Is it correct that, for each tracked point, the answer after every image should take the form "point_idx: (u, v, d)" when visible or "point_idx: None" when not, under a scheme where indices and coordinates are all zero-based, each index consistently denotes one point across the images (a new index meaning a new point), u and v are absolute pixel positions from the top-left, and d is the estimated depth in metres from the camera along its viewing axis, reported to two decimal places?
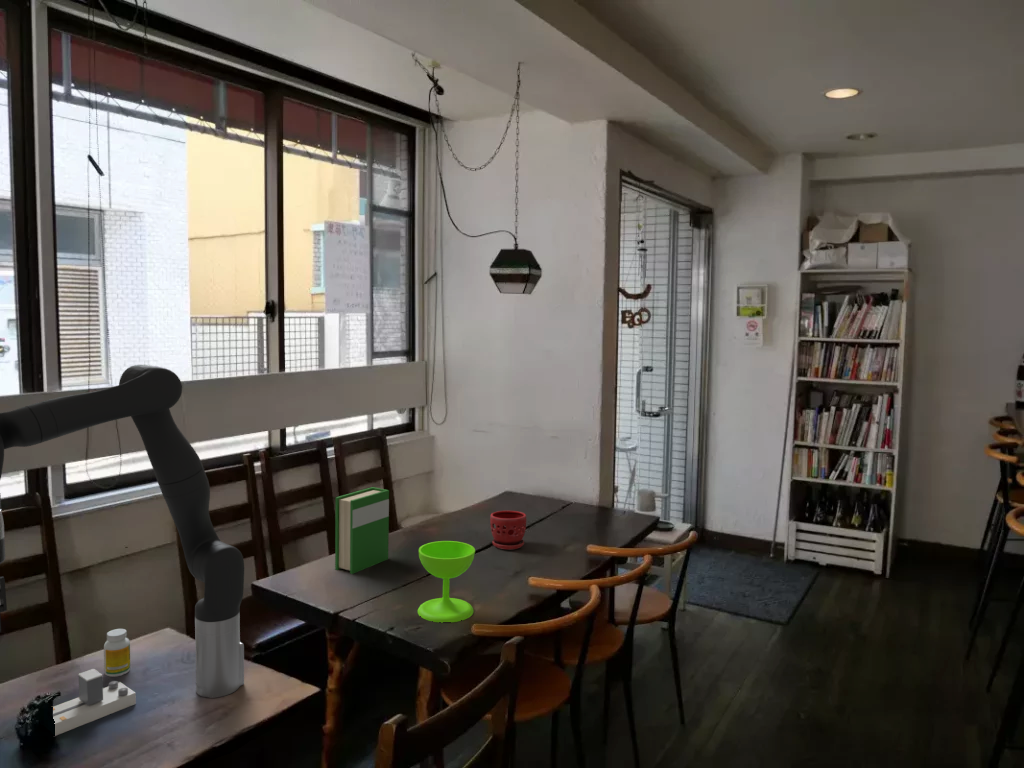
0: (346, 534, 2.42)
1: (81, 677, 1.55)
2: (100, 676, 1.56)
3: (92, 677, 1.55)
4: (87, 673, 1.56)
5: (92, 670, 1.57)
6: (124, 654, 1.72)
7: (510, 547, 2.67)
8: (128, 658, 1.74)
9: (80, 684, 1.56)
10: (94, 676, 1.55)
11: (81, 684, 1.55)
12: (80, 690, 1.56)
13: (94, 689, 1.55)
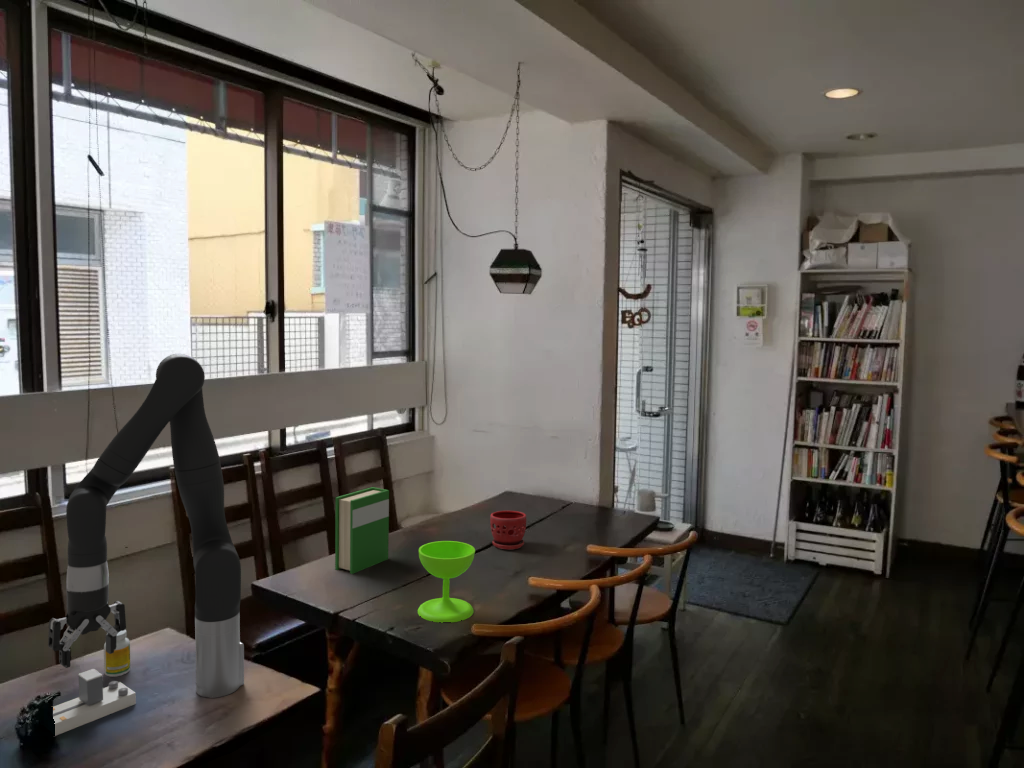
0: (346, 534, 2.42)
1: (81, 677, 1.55)
2: (100, 676, 1.56)
3: (92, 677, 1.55)
4: (87, 673, 1.56)
5: (92, 670, 1.57)
6: (124, 654, 1.72)
7: (510, 547, 2.67)
8: (128, 658, 1.74)
9: (80, 684, 1.56)
10: (94, 676, 1.55)
11: (81, 684, 1.55)
12: (80, 690, 1.56)
13: (94, 689, 1.55)
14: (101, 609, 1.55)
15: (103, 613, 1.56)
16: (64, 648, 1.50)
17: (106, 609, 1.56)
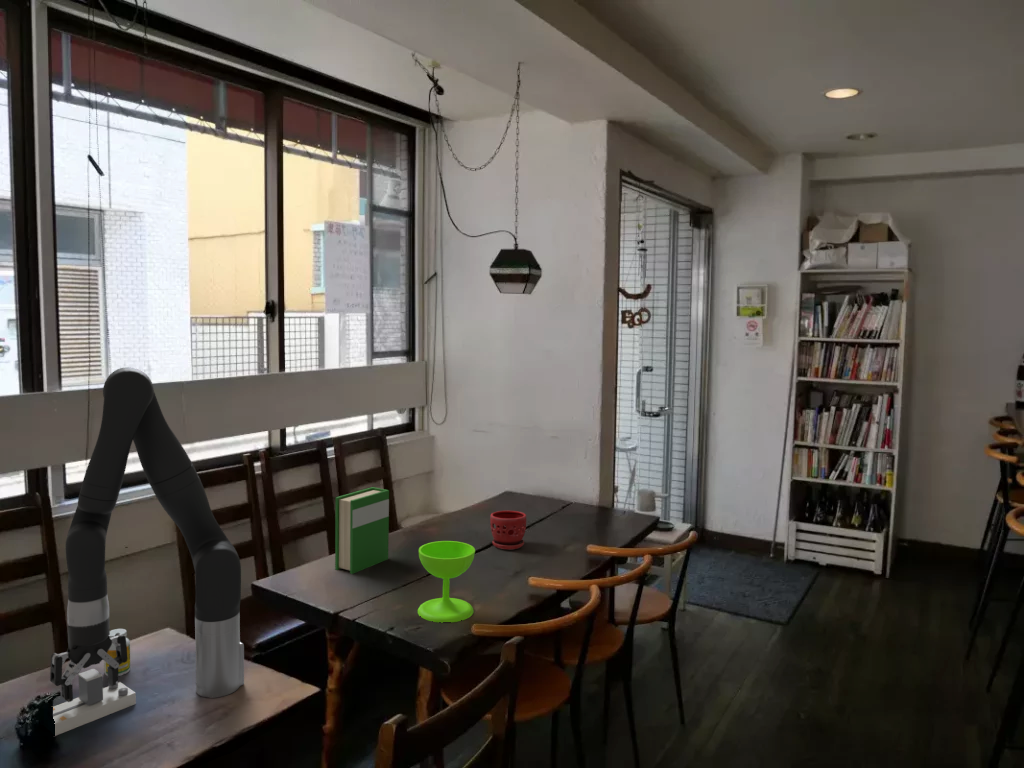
0: (346, 534, 2.42)
1: (81, 677, 1.55)
2: (100, 676, 1.56)
3: (92, 677, 1.55)
4: (87, 673, 1.56)
5: (92, 670, 1.57)
6: None
7: (510, 547, 2.67)
8: (128, 658, 1.74)
9: (80, 684, 1.56)
10: (94, 676, 1.55)
11: (81, 684, 1.55)
12: (80, 690, 1.56)
13: (94, 689, 1.55)
14: (102, 642, 1.56)
15: (104, 646, 1.57)
16: (66, 682, 1.51)
17: (107, 642, 1.57)
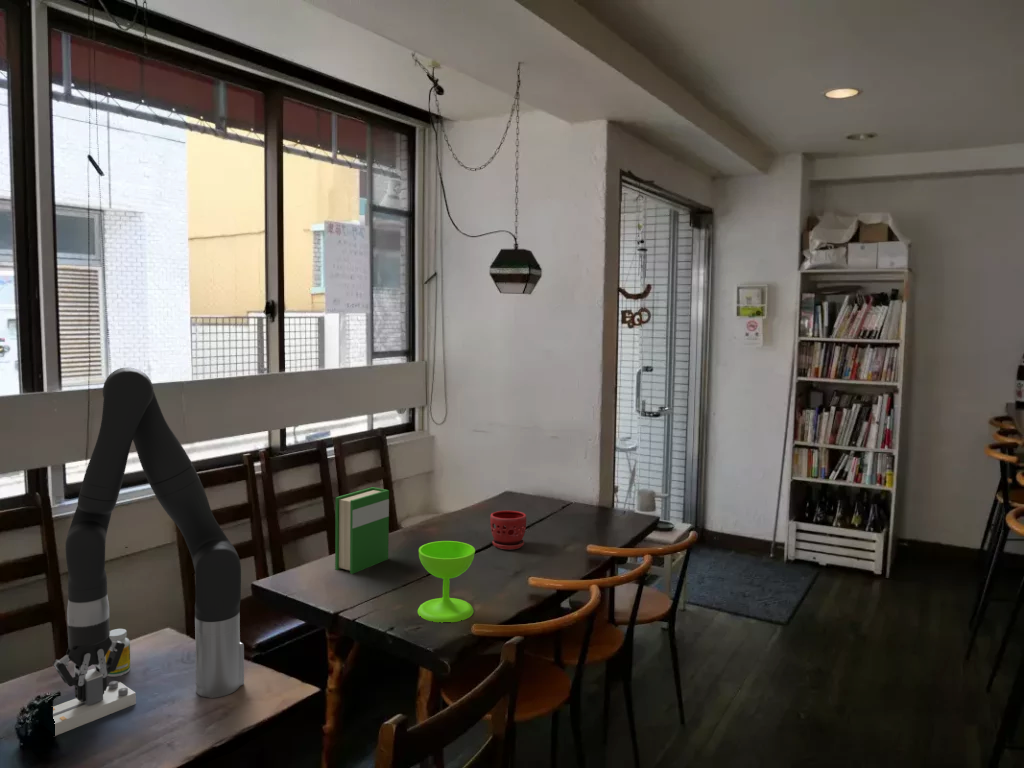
0: (346, 534, 2.42)
1: None
2: (100, 676, 1.56)
3: (92, 677, 1.55)
4: (87, 673, 1.56)
5: (92, 670, 1.57)
6: (124, 654, 1.72)
7: (510, 547, 2.67)
8: (128, 658, 1.74)
9: None
10: (94, 676, 1.55)
11: None
12: None
13: (94, 689, 1.55)
14: (104, 640, 1.57)
15: (104, 645, 1.57)
16: (79, 683, 1.53)
17: (108, 642, 1.57)
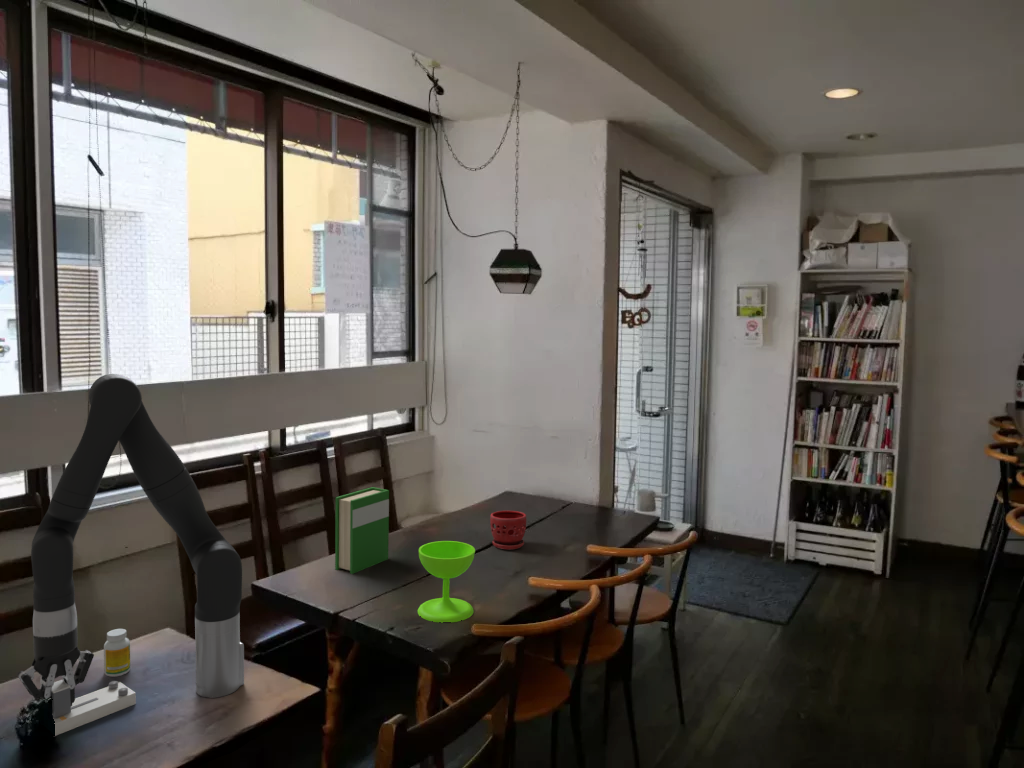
0: (346, 534, 2.42)
1: None
2: (68, 688, 1.51)
3: (59, 689, 1.50)
4: (54, 684, 1.51)
5: (60, 681, 1.52)
6: (124, 654, 1.72)
7: (510, 547, 2.67)
8: (128, 658, 1.74)
9: None
10: (61, 688, 1.50)
11: None
12: None
13: (61, 701, 1.50)
14: (72, 650, 1.52)
15: (72, 655, 1.52)
16: (46, 695, 1.48)
17: (76, 652, 1.52)
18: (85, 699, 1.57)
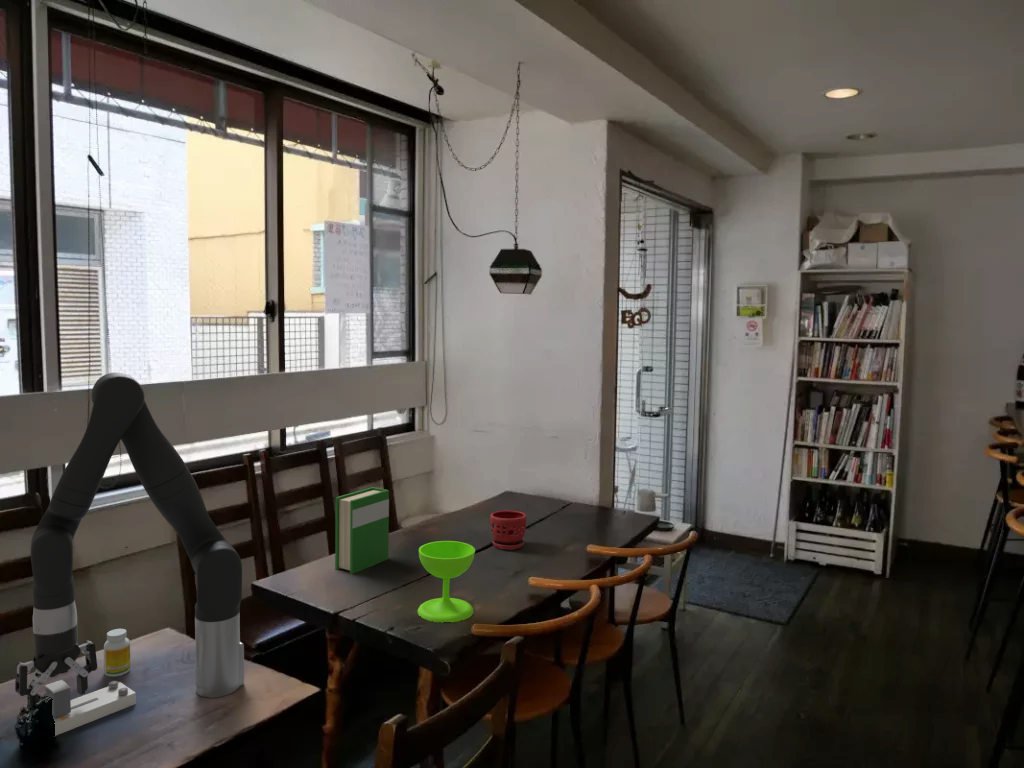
0: (346, 534, 2.42)
1: (48, 689, 1.50)
2: (67, 688, 1.51)
3: (59, 689, 1.50)
4: (54, 684, 1.51)
5: (60, 681, 1.52)
6: (124, 654, 1.72)
7: (510, 547, 2.67)
8: (128, 658, 1.74)
9: None
10: (61, 688, 1.50)
11: (48, 695, 1.50)
12: None
13: (61, 701, 1.50)
14: (70, 650, 1.51)
15: (72, 654, 1.52)
16: (32, 692, 1.46)
17: (75, 650, 1.52)
18: (85, 699, 1.57)
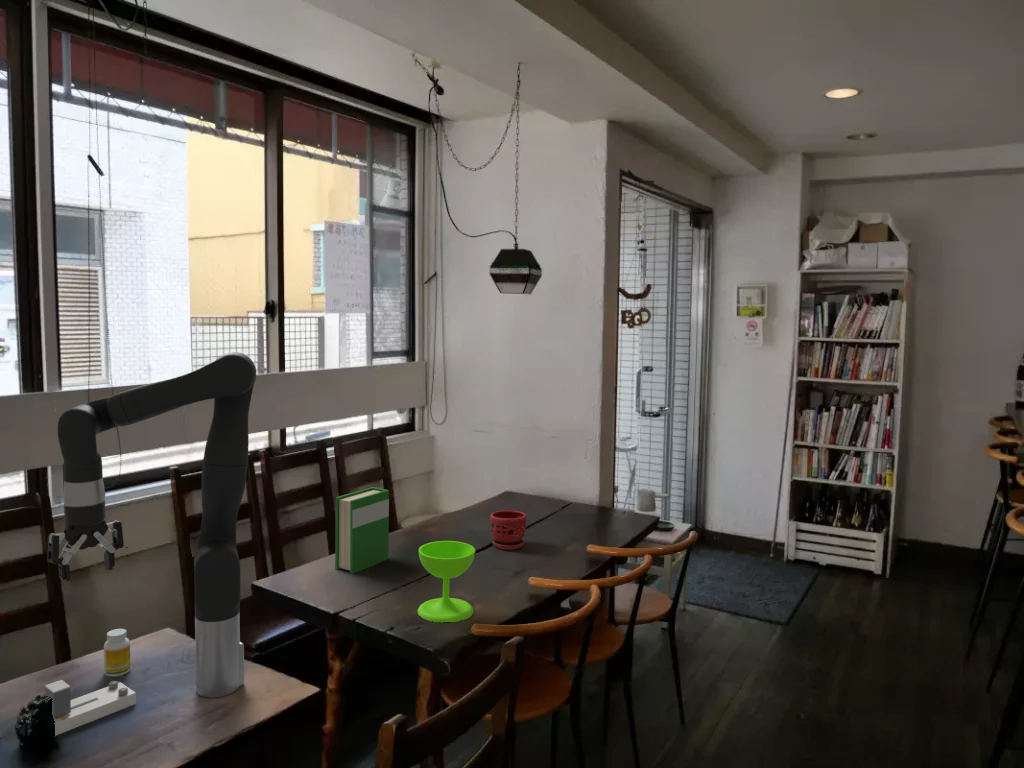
0: (346, 534, 2.42)
1: (48, 689, 1.50)
2: (67, 688, 1.51)
3: (59, 689, 1.50)
4: (54, 684, 1.51)
5: (60, 681, 1.52)
6: (124, 654, 1.72)
7: (510, 547, 2.67)
8: (128, 658, 1.74)
9: None
10: (61, 688, 1.50)
11: (48, 695, 1.50)
12: None
13: (61, 701, 1.50)
14: (98, 526, 1.59)
15: (100, 530, 1.59)
16: (63, 562, 1.54)
17: (103, 526, 1.60)
18: (85, 699, 1.57)
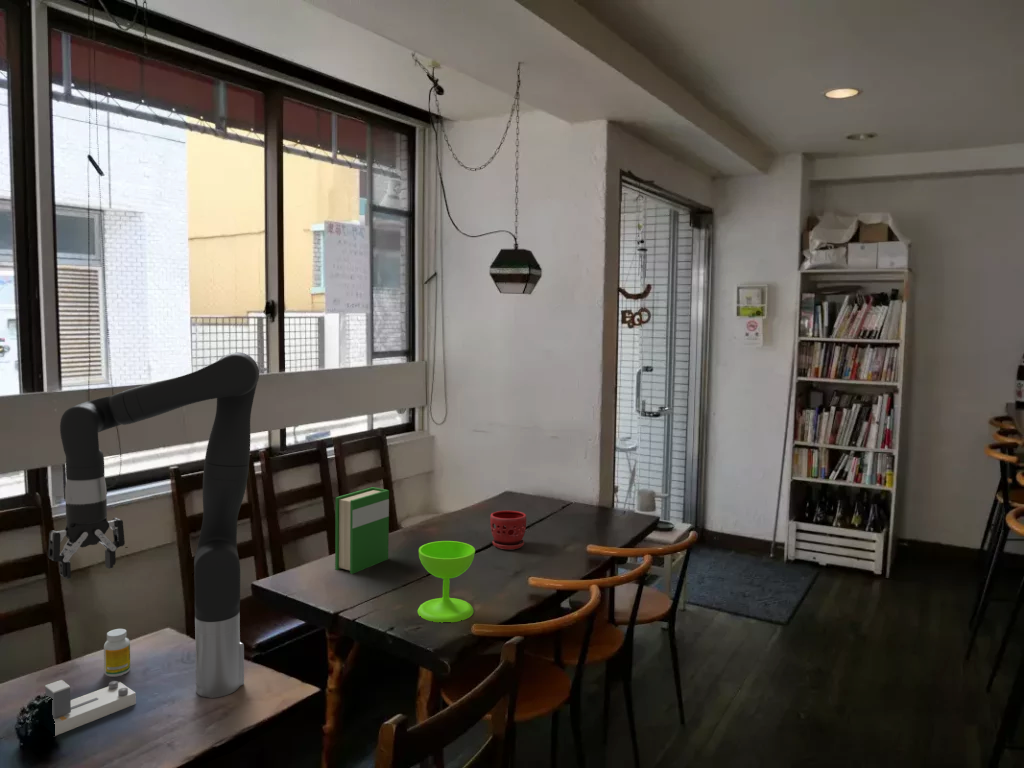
0: (346, 534, 2.42)
1: (48, 689, 1.50)
2: (67, 688, 1.51)
3: (59, 689, 1.50)
4: (54, 684, 1.51)
5: (60, 681, 1.52)
6: (124, 654, 1.72)
7: (510, 547, 2.67)
8: (128, 658, 1.74)
9: None
10: (61, 688, 1.50)
11: (48, 695, 1.50)
12: None
13: (61, 701, 1.50)
14: (100, 524, 1.59)
15: (102, 528, 1.60)
16: (64, 559, 1.54)
17: (105, 524, 1.60)
18: (85, 699, 1.57)
